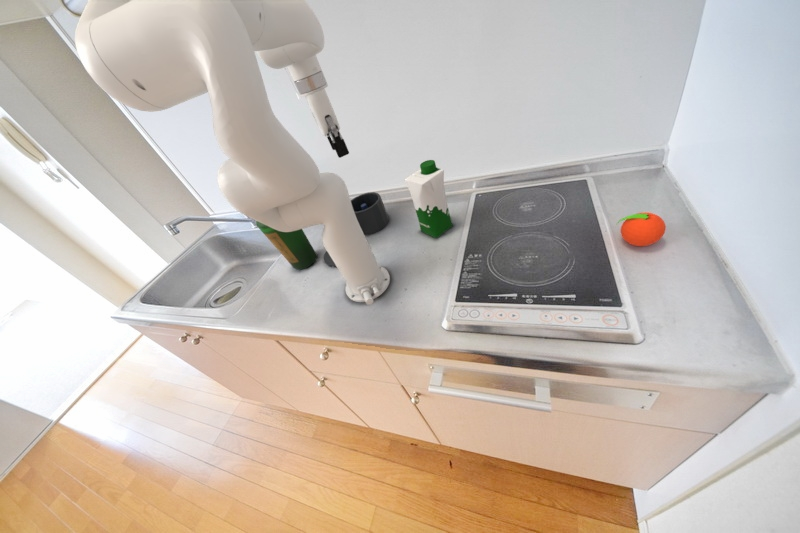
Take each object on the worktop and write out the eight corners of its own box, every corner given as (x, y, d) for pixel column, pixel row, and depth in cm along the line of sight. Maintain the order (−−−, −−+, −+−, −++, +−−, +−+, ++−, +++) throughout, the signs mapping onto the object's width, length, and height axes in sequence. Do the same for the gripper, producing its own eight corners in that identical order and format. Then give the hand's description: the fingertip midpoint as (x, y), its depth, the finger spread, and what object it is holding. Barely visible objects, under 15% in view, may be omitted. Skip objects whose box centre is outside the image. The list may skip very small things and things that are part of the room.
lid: (368, 254, 83) (360, 239, 79) (328, 274, 81) (318, 259, 77) (357, 234, 93) (350, 220, 89) (322, 251, 92) (313, 238, 88)
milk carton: (457, 225, 80) (445, 161, 67) (435, 241, 78) (419, 178, 65) (437, 217, 87) (423, 157, 74) (416, 232, 84) (398, 173, 71)
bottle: (293, 257, 94) (240, 186, 76) (321, 247, 94) (274, 173, 76) (289, 277, 86) (229, 202, 68) (320, 266, 86) (267, 187, 68)
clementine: (611, 250, 58) (619, 224, 53) (610, 231, 62) (618, 204, 57) (660, 254, 54) (674, 226, 49) (657, 233, 58) (669, 205, 53)
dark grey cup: (393, 224, 91) (385, 201, 85) (360, 239, 90) (349, 217, 84) (382, 210, 101) (374, 188, 95) (352, 224, 99) (342, 203, 93)
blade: (381, 223, 93) (373, 204, 88) (366, 230, 92) (357, 212, 87) (376, 216, 97) (368, 198, 92) (361, 223, 97) (353, 205, 92)
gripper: (295, 89, 73) (324, 150, 84) (300, 92, 60) (334, 164, 71) (320, 78, 74) (346, 141, 85) (330, 79, 61) (359, 153, 72)
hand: (340, 151), depth 78 cm, fingers open, 9 cm apart
